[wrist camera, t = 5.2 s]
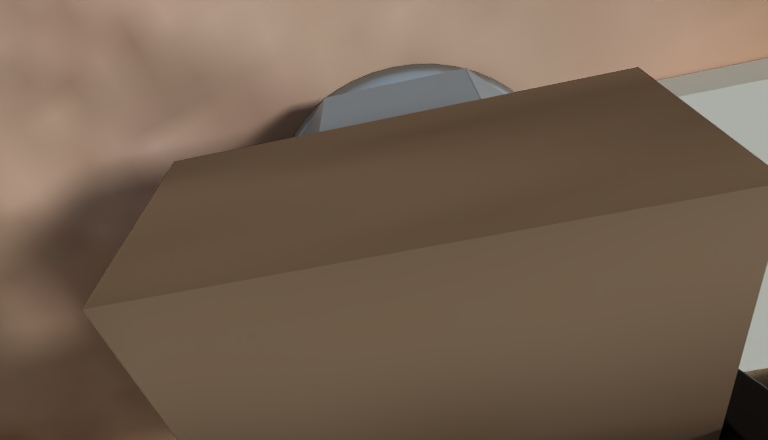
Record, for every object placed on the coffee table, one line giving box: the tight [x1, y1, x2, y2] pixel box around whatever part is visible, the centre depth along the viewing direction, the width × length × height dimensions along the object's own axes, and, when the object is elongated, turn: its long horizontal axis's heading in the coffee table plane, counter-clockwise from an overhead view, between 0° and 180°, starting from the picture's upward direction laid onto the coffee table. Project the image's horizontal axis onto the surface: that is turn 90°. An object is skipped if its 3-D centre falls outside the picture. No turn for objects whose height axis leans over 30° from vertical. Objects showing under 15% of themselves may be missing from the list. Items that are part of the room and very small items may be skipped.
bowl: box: [294, 64, 513, 137], centre depth 12 cm, size 7×7×4 cm
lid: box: [81, 67, 768, 440], centre depth 8 cm, size 9×6×4 cm
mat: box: [657, 58, 768, 372], centre depth 14 cm, size 10×10×1 cm
